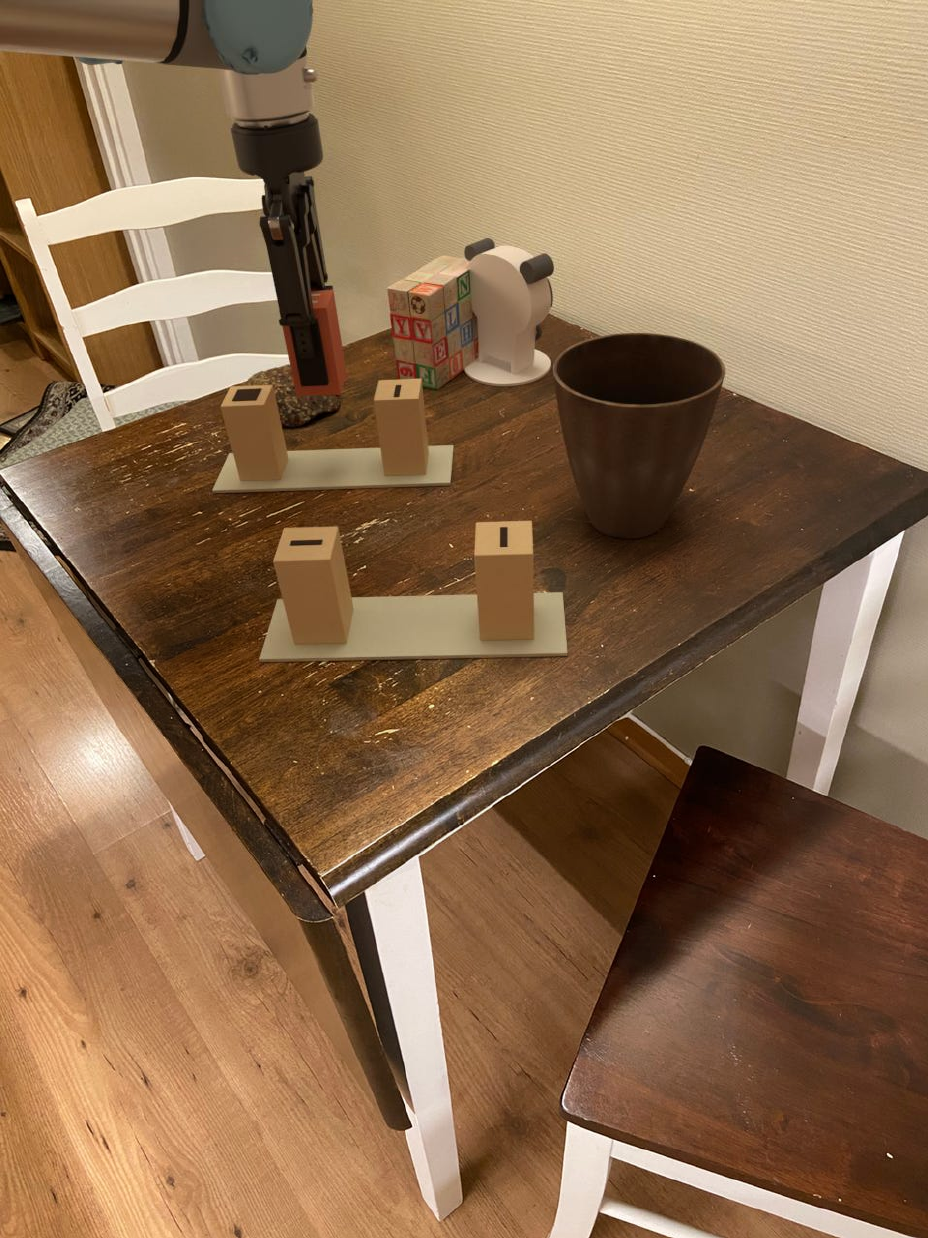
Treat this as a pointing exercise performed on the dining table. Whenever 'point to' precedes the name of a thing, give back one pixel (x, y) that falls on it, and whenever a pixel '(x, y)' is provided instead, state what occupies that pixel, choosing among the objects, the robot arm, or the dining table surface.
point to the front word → (412, 606)
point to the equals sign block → (331, 347)
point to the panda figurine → (508, 312)
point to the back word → (274, 468)
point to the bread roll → (292, 397)
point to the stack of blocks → (434, 322)
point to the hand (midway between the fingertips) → (319, 371)
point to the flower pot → (634, 424)
